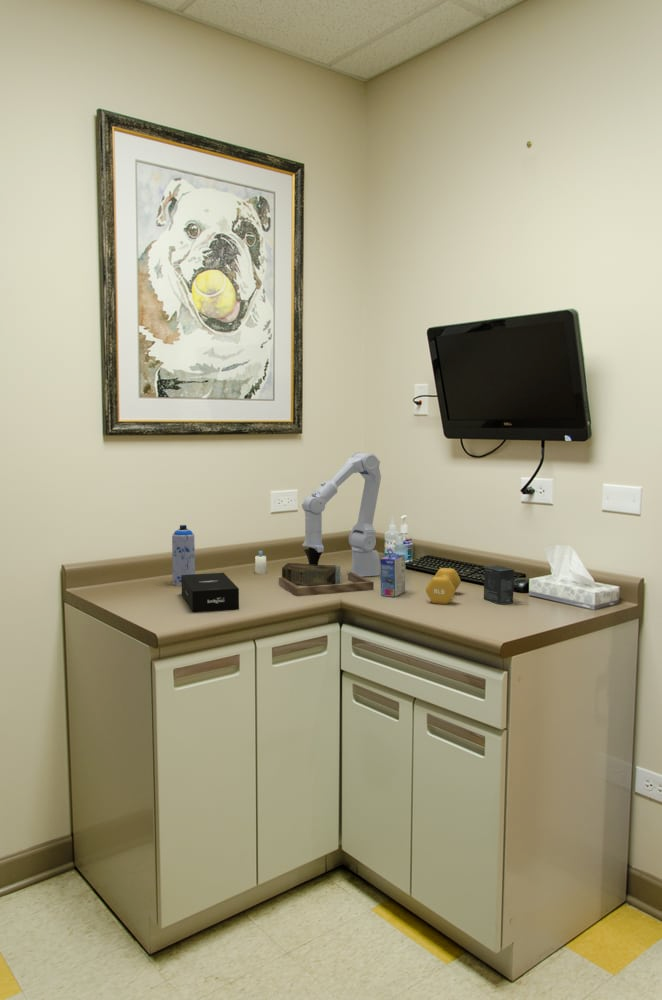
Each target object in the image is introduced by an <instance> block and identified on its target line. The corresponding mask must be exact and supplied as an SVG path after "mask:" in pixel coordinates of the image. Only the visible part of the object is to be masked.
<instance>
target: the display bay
mask: <svg viewBox="0 0 662 1000" xmlns="http://www.w3.org/2000/svg"><path fill="white" fill-rule="evenodd" d="M347 580H348V581H349V582H345V583H338V584H331V585H319V586H310V585H305V586H299V585H295V584H293V583H292V582H290V581H288V580H287V579H285V578H283V577H282V576H281V577H278V585H279V586H280V587H281V588H283V589H284V590H286V591H288V592H289V593H291V594H293V595H294V596H296V597H301V596H302V597H303V596H315V595H325V594H337V593H350V592H351V593H352V592H359V591H360V592H362V591H372V590H375V588H374V584H375V583H374V581H372V580H370V579H368V578H366V577H361V576H359V575H357V574H355V573H352V571H348V572H347Z"/></svg>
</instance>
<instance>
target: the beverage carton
mask: <svg viewBox="0 0 662 1000" xmlns="http://www.w3.org/2000/svg"><path fill="white" fill-rule="evenodd" d="M281 577H283V578H285V579H287V580H288V581H290V582H292V583H293V584H295V585H297V586H319V585H331V584H340V582H341V566H339V565H336V564H333V565H331V564H329V565H326V564H318V565H315V564H309V563H300V562H299V563H298V562H297V563H295V562H287V564H285V565H283V567H282V569H281Z"/></svg>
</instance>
